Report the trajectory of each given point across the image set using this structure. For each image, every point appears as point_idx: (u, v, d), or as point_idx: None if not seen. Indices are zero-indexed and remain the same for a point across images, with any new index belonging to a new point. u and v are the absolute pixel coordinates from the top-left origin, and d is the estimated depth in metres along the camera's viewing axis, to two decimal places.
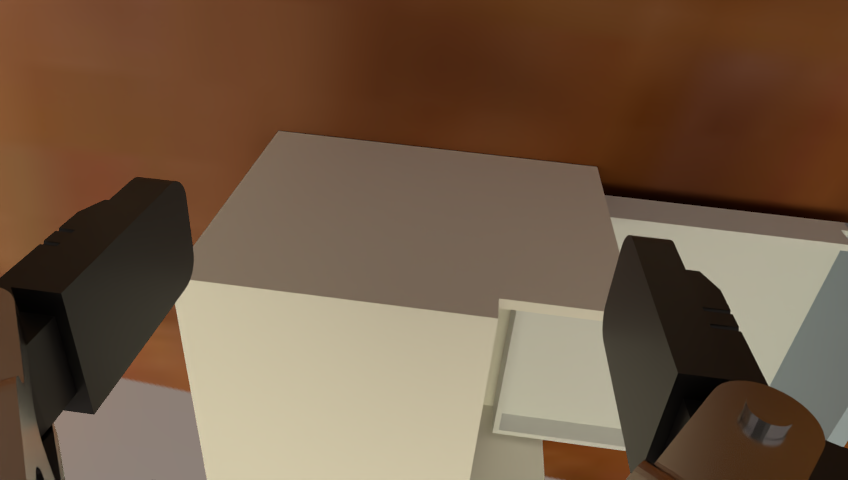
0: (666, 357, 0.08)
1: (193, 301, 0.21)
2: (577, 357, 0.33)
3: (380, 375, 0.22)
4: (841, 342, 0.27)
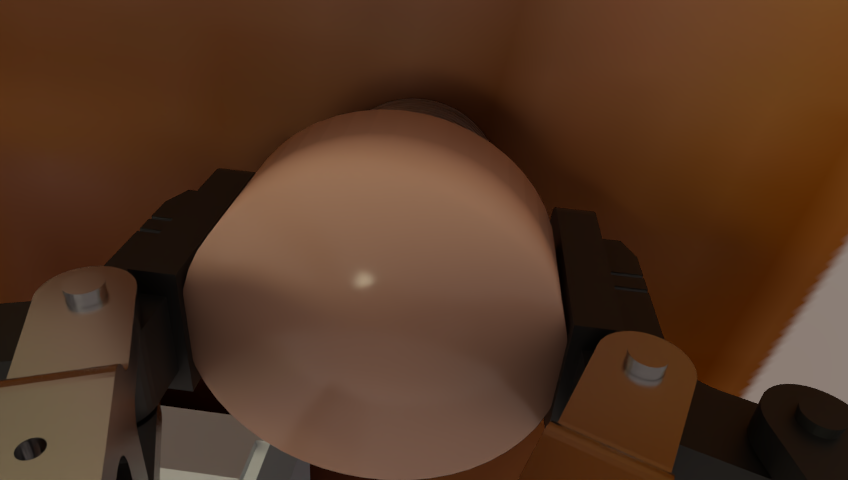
0: (568, 313, 0.09)
1: None
2: None
3: None
4: None
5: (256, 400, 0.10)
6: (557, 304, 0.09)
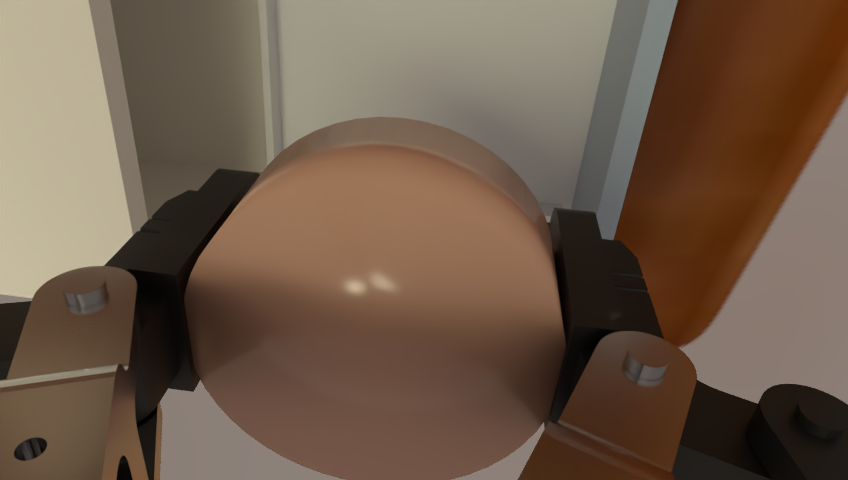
0: (568, 313, 0.09)
1: None
2: (358, 77, 0.27)
3: None
4: None
5: (256, 405, 0.10)
6: (556, 311, 0.09)
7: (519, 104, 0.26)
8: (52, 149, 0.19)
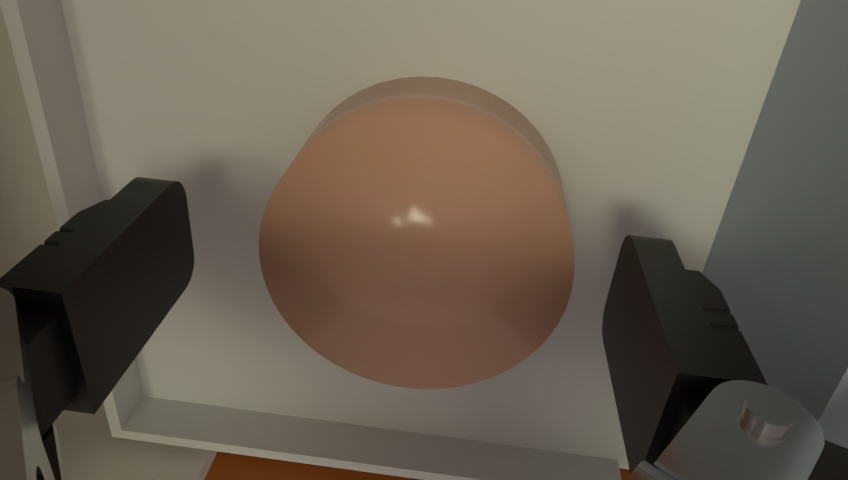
0: (665, 357, 0.08)
1: None
2: (254, 262, 0.15)
3: None
4: (842, 143, 0.09)
5: (315, 317, 0.12)
6: (566, 229, 0.11)
7: None
8: None
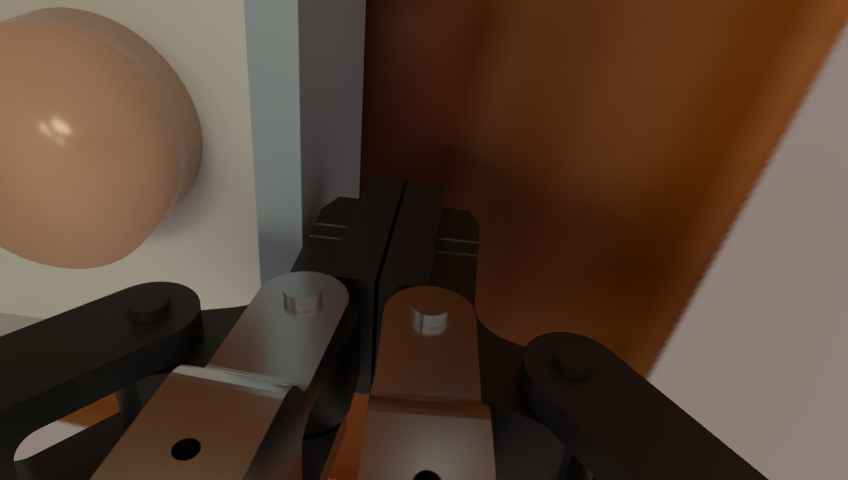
0: (383, 272, 0.10)
1: None
2: None
3: None
4: None
5: None
6: (142, 129, 0.14)
7: (214, 217, 0.17)
8: None
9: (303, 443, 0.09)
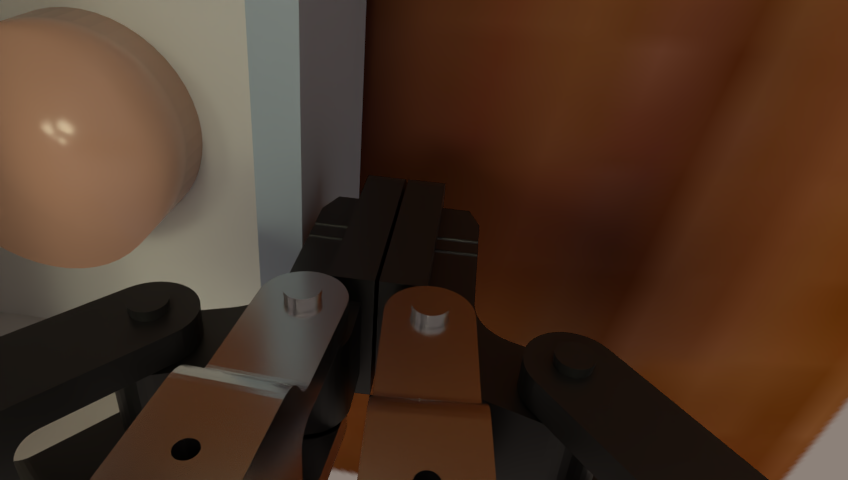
0: (383, 273, 0.10)
1: None
2: None
3: None
4: None
5: None
6: (142, 129, 0.14)
7: (214, 217, 0.17)
8: None
9: (303, 443, 0.09)
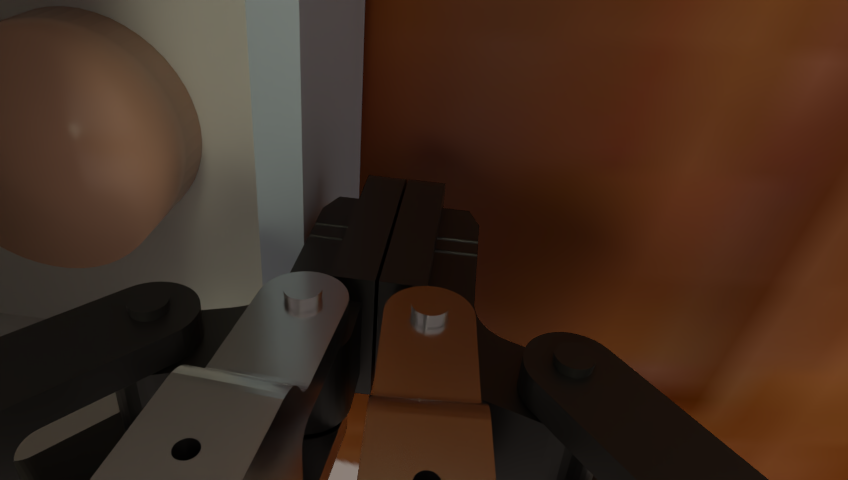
0: (383, 272, 0.10)
1: None
2: None
3: None
4: None
5: None
6: (141, 131, 0.13)
7: (215, 216, 0.17)
8: None
9: (303, 443, 0.09)
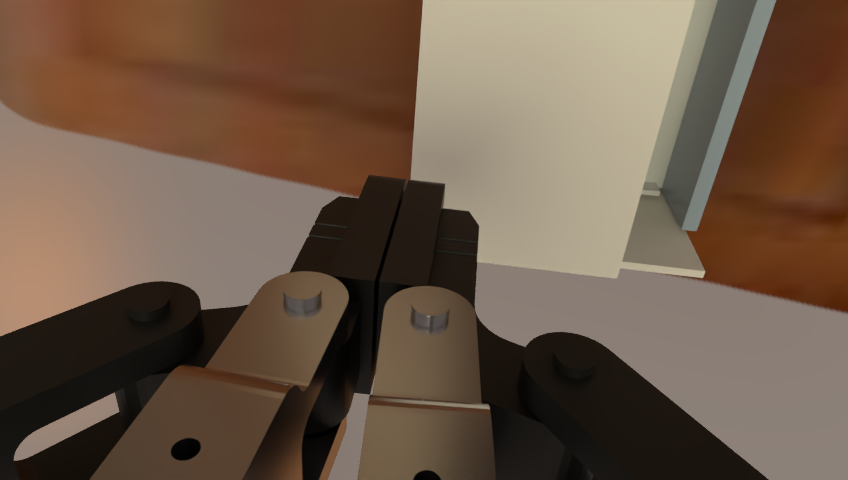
0: (383, 272, 0.10)
1: None
2: None
3: (599, 3, 0.25)
4: (731, 22, 0.31)
5: None
6: None
7: None
8: (601, 166, 0.28)
9: (303, 443, 0.09)
